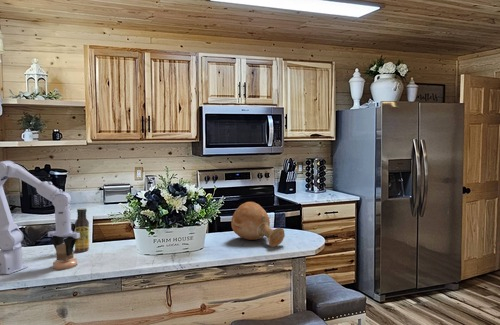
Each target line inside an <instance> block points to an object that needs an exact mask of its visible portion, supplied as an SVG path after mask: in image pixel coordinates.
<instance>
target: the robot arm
mask: <svg viewBox="0 0 500 325" xmlns="http://www.w3.org/2000/svg"><path fill="white" fill-rule="evenodd" d="M9 178H17V179H19V180H21V181H22V182H24V183H26V184H28V185H30V186H32V187H33V188H35V190H36V193H37V194H38V195H40V196H41V197H43V198H45V199H46V200H48V201H49V202H51V203H52V205H53V206H54V210H55V211H54V215H55V216H54V219H55V220H54V221H55V230H50V231H48V232H47V237H48V238H49V237H50V242H51V243H52V245H53V247H54V249H55V250H56V245H59V244H62V243H65V245H66V252H67V256H69V255H71V254H72V252H73V253H74V248H75V242H76V240H77V238H80V233H77V232H75V231H73V230H72V220H71V218H72V217H71V206H70V205H71V204H70V203H71V201H72V195H70V193H69V192H67V191H63V189H61V188H60V189H59V188H58V187H56V186H55V185H54V184H53V182H52V181H46V180H45V181H41V180H40V179H39V178H37V177H36V176H35V175H33V174H31V173H30V172H29V171H27V170H26V169H25V168H23V167H22V166H21V165H20V164H17V163H15V162H14V161H12V160H7V159H6V160H3V161H0V275H10V274H13V273H16V272H18V271H21V270H24V269H26V268H28V267H29V266H28V265H24V264H23V249H22V247H23V246H22V241H23V240H24V233H23V231H21V230H20V229H19V226H18V225H17V223H15V222H14V218H13V215H12V212H11V210H10V206H9V203H8V199H7V196H6V193H5V191H4V187H3V185H4V184H5V182H6V181H7V180H8V179H9ZM51 237H52V238H51Z"/></svg>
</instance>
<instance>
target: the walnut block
mask: <svg viewBox="0 0 500 325" xmlns="http://www.w3.org/2000/svg"><path fill="white" fill-rule="evenodd" d="M55 256H56V260H61V261H67V260H69V259H72V258H74V251H73V252H72V254H71V255H69V256H67V252H66V245H65V242H63V243H62V244H59V245H56V249H55Z"/></svg>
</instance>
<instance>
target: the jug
mask: <svg viewBox="0 0 500 325" xmlns="http://www.w3.org/2000/svg"><path fill="white" fill-rule="evenodd" d="M270 221H271V220H270V217H269V215H268V213H267V211H266V210H265V209H264V208H263V207H262V206H261V205H260V204H259V203H256V202H255V201H246V202H244V203H241V204H240V205H239V206H238V207H237V208H236V209H235V211H234V212H233V214H232V217H231V223H230V225H231V229H232V231H233V233H235V235H237V236H238V237H240V238H242V239H244V240H249V241H257V240H259V239H262V238H264V237H266V239H267V241H268V244H269V246H270V247H272V248H273V247H278V246H279V245H281V244H282V243H283V241H284V239H285V236H286V235H285V234H286V233H285V230H284V228H282V227H277V228H274V229H273V228H271V222H270Z"/></svg>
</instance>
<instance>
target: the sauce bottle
mask: <svg viewBox="0 0 500 325" xmlns="http://www.w3.org/2000/svg"><path fill="white" fill-rule="evenodd" d="M76 213H77V217H76V220H75V222H74V232H77V233H80V238H77V240H76V242H75V244H74V251H75V252H76V253H84V252H87V251H88V250H90V225H89V224H90V221H89V220H88V219H87V208H86V207H84V208H83V207H82V208H81V207H80V208H77V209H76Z"/></svg>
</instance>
